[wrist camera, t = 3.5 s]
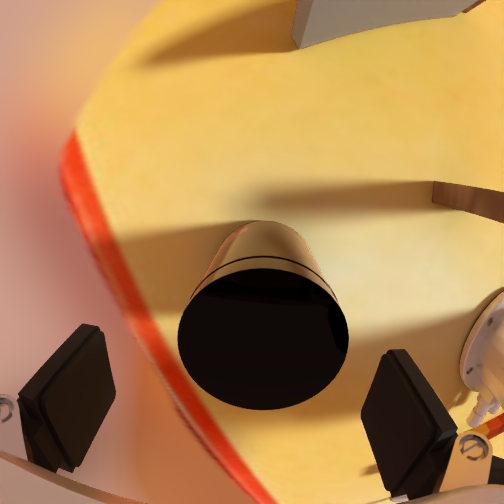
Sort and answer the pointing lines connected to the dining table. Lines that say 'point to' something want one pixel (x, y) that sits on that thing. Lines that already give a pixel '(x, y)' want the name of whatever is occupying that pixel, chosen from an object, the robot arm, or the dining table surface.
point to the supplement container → (263, 322)
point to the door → (363, 16)
